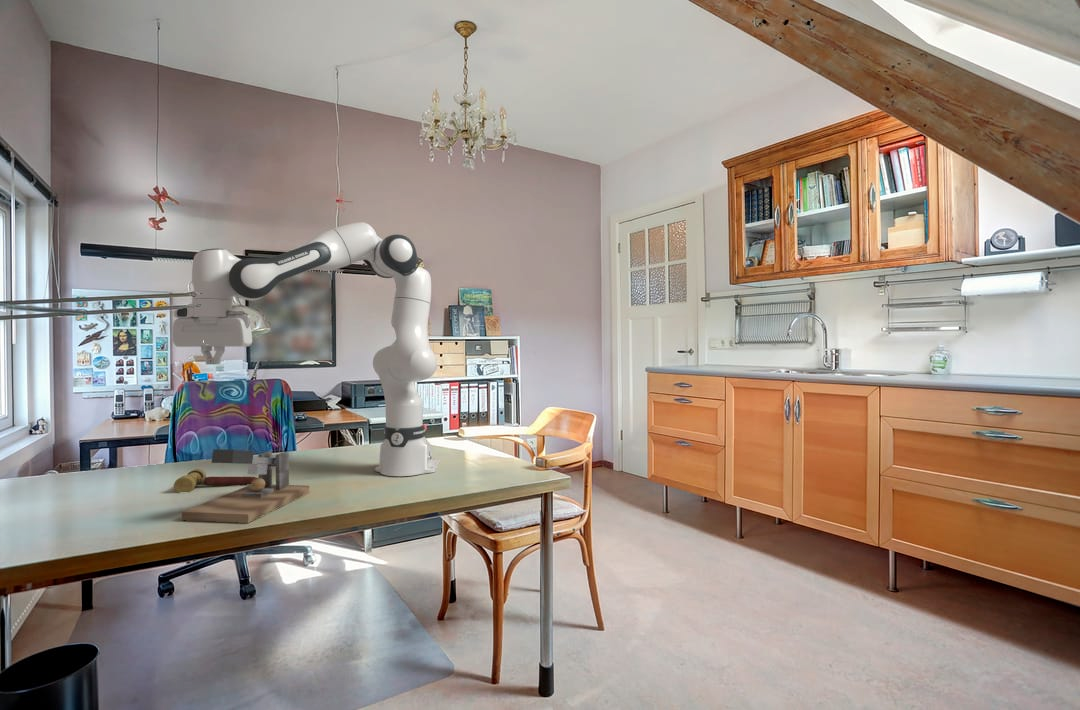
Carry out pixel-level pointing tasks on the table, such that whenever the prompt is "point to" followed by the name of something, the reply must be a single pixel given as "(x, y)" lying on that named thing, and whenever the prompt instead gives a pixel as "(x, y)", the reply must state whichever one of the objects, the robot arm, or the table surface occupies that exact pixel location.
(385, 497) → the table surface
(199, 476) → the gavel
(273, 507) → the nutcracker base
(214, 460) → the lever
